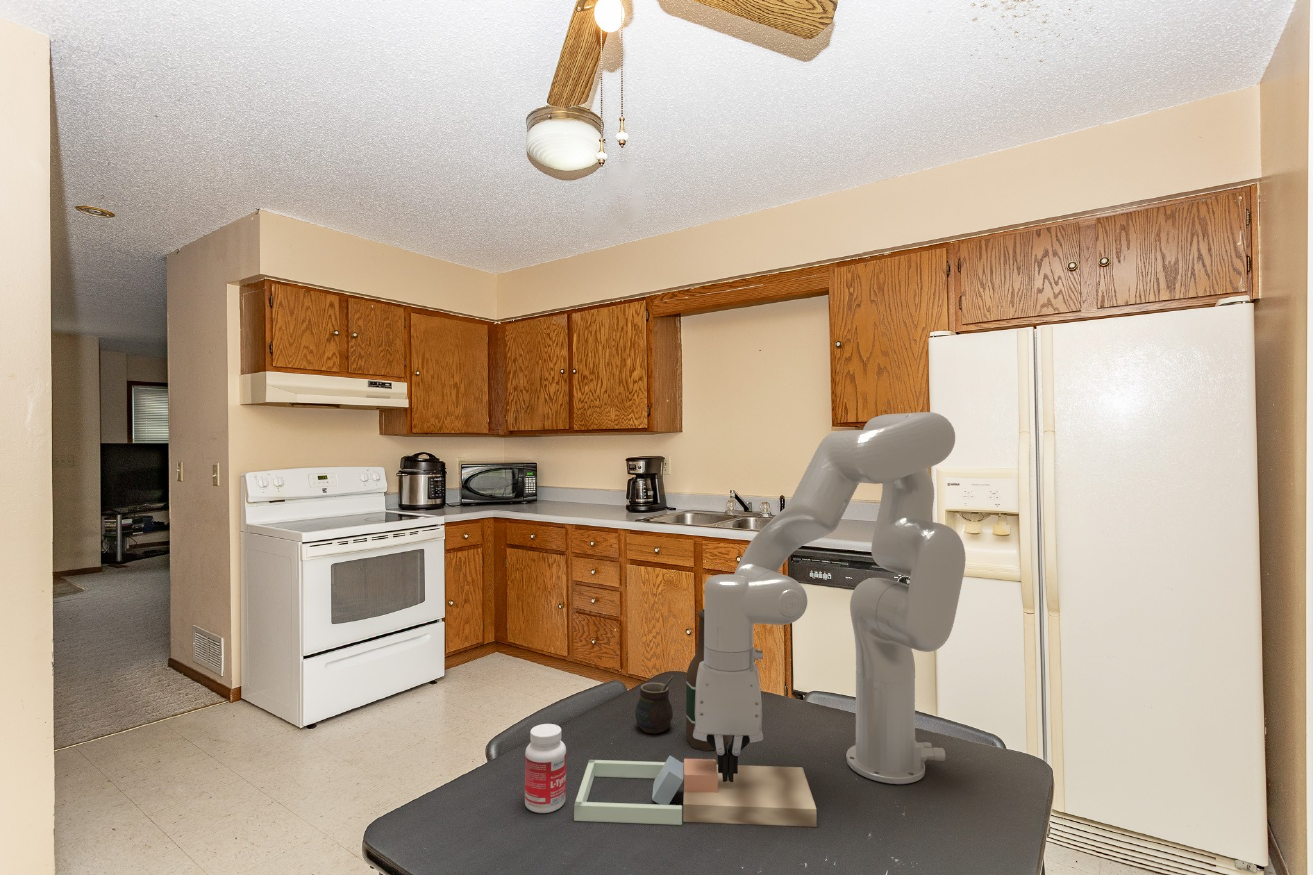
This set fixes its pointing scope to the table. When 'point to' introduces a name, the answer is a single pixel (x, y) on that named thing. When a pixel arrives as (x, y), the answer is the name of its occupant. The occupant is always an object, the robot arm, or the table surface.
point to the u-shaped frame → (623, 810)
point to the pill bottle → (545, 769)
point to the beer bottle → (691, 691)
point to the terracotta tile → (700, 775)
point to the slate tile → (668, 781)
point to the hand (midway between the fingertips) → (727, 777)
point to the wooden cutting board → (755, 799)
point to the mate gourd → (654, 707)
